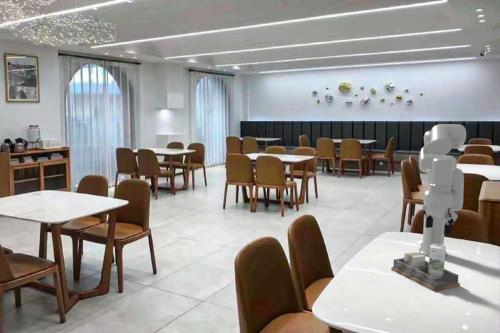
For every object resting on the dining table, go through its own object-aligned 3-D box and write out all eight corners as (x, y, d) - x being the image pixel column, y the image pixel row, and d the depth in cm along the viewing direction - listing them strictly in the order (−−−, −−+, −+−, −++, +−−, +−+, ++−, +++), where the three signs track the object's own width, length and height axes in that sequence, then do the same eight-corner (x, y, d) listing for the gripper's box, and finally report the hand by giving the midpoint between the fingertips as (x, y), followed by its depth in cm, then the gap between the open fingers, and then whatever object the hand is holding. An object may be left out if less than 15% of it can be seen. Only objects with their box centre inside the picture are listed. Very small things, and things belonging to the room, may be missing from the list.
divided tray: (391, 269, 195) (392, 251, 194) (415, 265, 200) (416, 248, 199) (433, 291, 173) (434, 271, 171) (459, 286, 178) (461, 266, 177)
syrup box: (443, 278, 182) (445, 244, 180) (443, 284, 177) (445, 248, 175) (428, 276, 184) (430, 242, 182) (427, 281, 179) (429, 246, 177)
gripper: (417, 185, 182) (415, 226, 185) (450, 193, 166) (447, 237, 169) (431, 184, 185) (429, 224, 188) (465, 192, 169) (462, 235, 172)
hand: (438, 230), depth 178 cm, fingers open, 9 cm apart
